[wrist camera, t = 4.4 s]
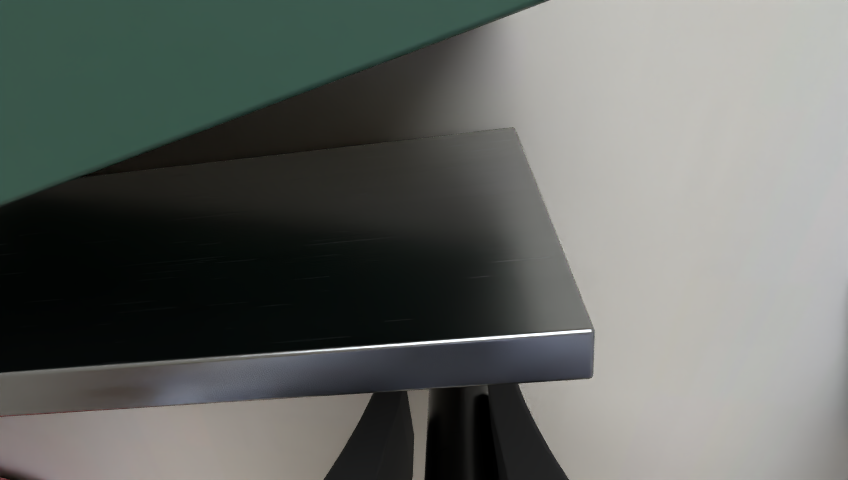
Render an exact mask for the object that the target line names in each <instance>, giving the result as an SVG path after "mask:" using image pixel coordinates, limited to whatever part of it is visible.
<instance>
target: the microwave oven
mask: <svg viewBox="0 0 848 480" xmlns="http://www.w3.org/2000/svg"><path fill="white" fill-rule="evenodd" d="M546 1H549V0H0V207H2V206H5V205H7V204H10V203H13V202H15V201H18V200H21V199H23V198H26V197H28V196H31V195H34V194H36V193H39V192H42V191H44V190H47V189H50V188H52V187H55V186H58V185H60V184H63V183H66V182H68V181H71V180H74V179H76V178H79V177H82V176H84V175H87V174H90V173H92V172H95V171H98V170H100V169H103V168H105V167H108V166H111V165H113V164H116V163H119V162H121V161H124V160H127V159H129V158H132V157H135V156H137V155H140V154H143V153H145V152H148V151H151V150H153V149H156V148H159V147H161V146H164V145H167V144H169V143H172V142H174V141H177V140H180V139H182V138H185V137H188V136H190V135H193V134H196V133H198V132H201V131H204V130H206V129H209V128H212V127H214V126H217V125H220V124H222V123H225V122H228V121H230V120H233V119H236V118H238V117H241V116H244V115H246V114H249V113H251V112H254V111H257V110H259V109H262V108H265V107H267V106H270V105H273V104H275V103H278V102H281V101H283V100H286V99H289V98H291V97H294V96H297V95H299V94H302V93H305V92H307V91H310V90H313V89H315V88H318V87H320V86H323V85H326V84H328V83H331V82H334V81H336V80H339V79H342V78H344V77H347V76H350V75H352V74H355V73H358V72H360V71H363V70H366V69H368V68H371V67H374V66H376V65H379V64H382V63H384V62H387V61H390V60H392V59H395V58H397V57H400V56H403V55H405V54H408V53H411V52H413V51H416V50H419V49H421V48H424V47H427V46H429V45H432V44H435V43H437V42H440V41H443V40H445V39H448V38H451V37H453V36H456V35H459V34H461V33H464V32H466V31H469V30H472V29H474V28H477V27H480V26H482V25H485V24H488V23H490V22H493V21H496V20H498V19H501V18H504V17H506V16H509V15H512V14H514V13H517V12H520V11H522V10H525V9H528V8H530V7H533V6H536V5H538V4H541V3H543V2H546Z"/></svg>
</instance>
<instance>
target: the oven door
mask: <svg viewBox="0 0 848 480" xmlns="http://www.w3.org/2000/svg"><path fill="white" fill-rule="evenodd" d="M594 338H595V330H594V328H593V325H592V323H591V320H590V317H589V315H588V312H587V310H586V307H585V305H584V302H583V300H582V297H581V295H580V292H579V290H578V287H577V285H576V282H575V279H574V277H573V274H572V272H571V269H570V267H569V264H568V262H567V259H566V257H565V254H564V252H563V249H562V247H561V244H560V241H559V239H558V236H557V234H556V231H555V229H554V226H553V224H552V221H551V219H550V216H549V214H548V211H547V209H546V206H545V203H544V201H543V198H542V196H541V193H540V191H539V188H538V186H537V183H536V181H535V178H534V176H533V173H532V171H531V168H530V165H529V163H528V160H527V158H526V155H525V153H524V150H523V148H522V145H521V143H520V140H519V138H518V135H517V132H516V130H515V128H513V127H512V128H503V129H494V130H486V131H477V132H469V133H460V134H451V135H443V136H434V137H425V138H417V139H408V140H400V141H391V142H382V143H374V144H365V145H357V146H348V147H339V148H331V149H322V150H313V151H305V152H296V153H288V154H279V155H270V156H262V157H253V158H245V159H236V160H227V161H219V162H210V163H202V164H193V165H184V166H176V167H167V168H158V169H150V170H141V171H133V172H124V173H115V174H107V175H98V176H90V177H81V178H76V179H74V180H71V181H68V182H66V183H63V184H60V185H58V186H55V187H52V188H50V189H47V190H44V191H42V192H39V193H36V194H34V195H31V196H28V197H26V198H23V199H21V200H18V201H15V202H13V203H10V204H7V205H5V206H2V207H0V417H4V416H19V415H35V414H50V413H66V412H82V411H97V410H113V409H128V408H144V407H159V406H175V405H190V404H206V403H221V402H237V401H252V400H268V399H283V398H299V397H314V396H330V395H345V394H361V393H376V392H392V391H407V390H423V389H429V401H428V421H427V441H426V461H425V480H499V476H498V467H497V460H496V454H495V448H494V442H493V436H492V431H491V422H490V410H489V399H488V385H500V384H516V383H532V382H547V381H563V380H578V379H590V378H592V376H593V367H594Z"/></svg>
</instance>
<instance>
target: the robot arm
mask: <svg viewBox="0 0 848 480" xmlns="http://www.w3.org/2000/svg"><path fill="white" fill-rule="evenodd" d="M488 399H489V410H490V422H491V431H492V436H493V442H494V448H495V454H496V460H497V467H498V476H499V480H569V479H568V478H567V476H566V474H565V473H564V471H563V470H562V468H561V467H560V465H559V464H558V462H557V460H556V459H555V457H554V455H553V454H552V452H551V450H550V449H549V447H548V445H547V443H546V442H545V440H544V438H543V436H542V435H541V433H540V431H539V429H538V427H537V425H536V423H535V422H534V420H533V418H532V416H531V413H530V411H529V409H528V407H527V405H526V403H525V400H524V398H523V396H522V393H521V391H520V388H519V385H518V383H516V384H500V385H488ZM413 454H414V432H413V426H412V419H411V413H410V407H409V401H408V395H407V391H392V392H376V393H373V395H372V397H371V399H370V401H369V403H368V405H367V407H366V409H365V411H364V413H363V415H362V417H361V419H360V421H359V423H358V424H357V426H356V428H355V430H354V431H353V433H352V435H351V437H350V438H349V440H348V442H347V444H346V445H345V447H344V449H343V450H342V452H341V454H340V455H339V457H338V458H337V460H336V461H335V463H334V465H333V466H332V468H331V469H330V471H329V472H328V474H327V475H326V477H325V478H324V480H412V477H413Z"/></svg>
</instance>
